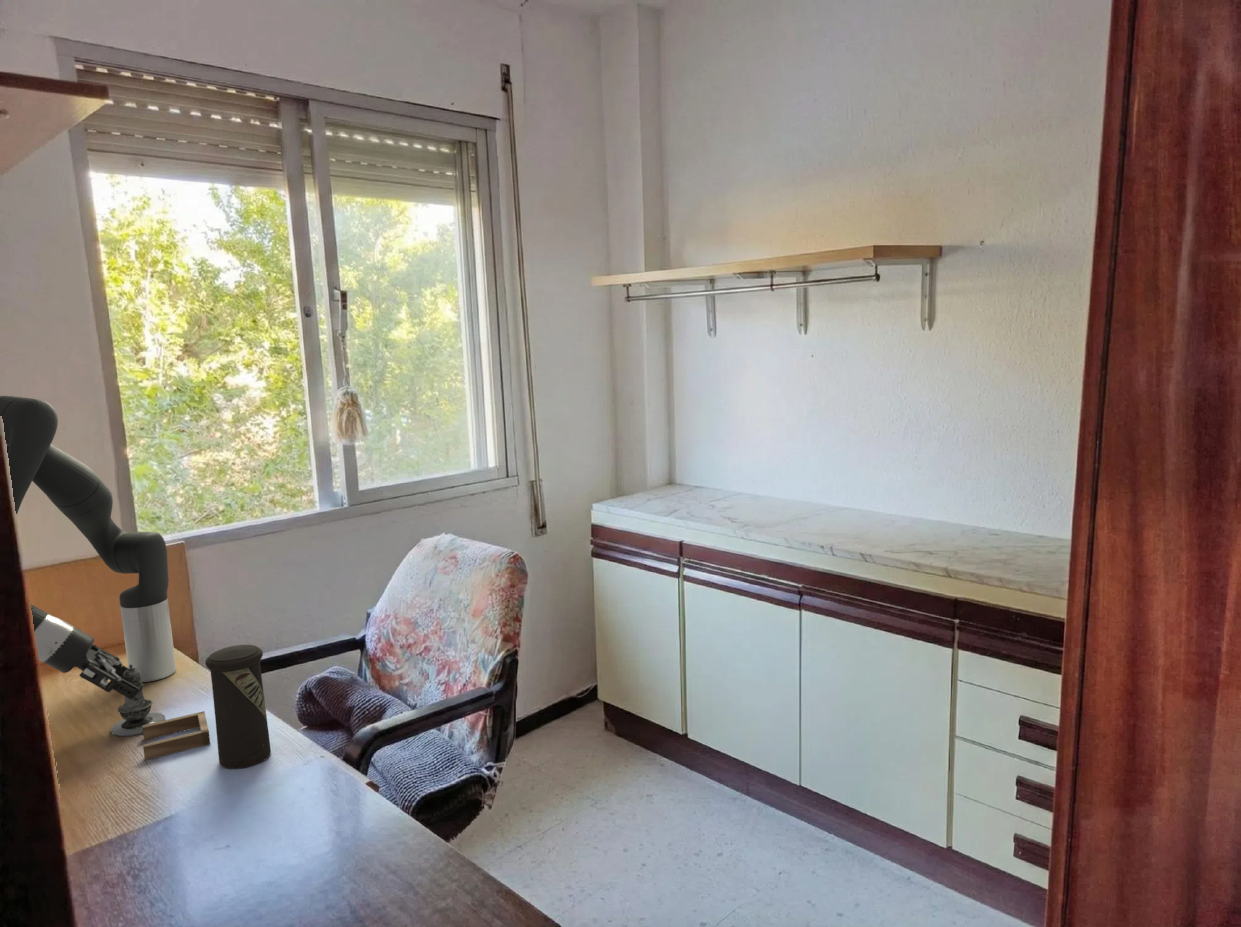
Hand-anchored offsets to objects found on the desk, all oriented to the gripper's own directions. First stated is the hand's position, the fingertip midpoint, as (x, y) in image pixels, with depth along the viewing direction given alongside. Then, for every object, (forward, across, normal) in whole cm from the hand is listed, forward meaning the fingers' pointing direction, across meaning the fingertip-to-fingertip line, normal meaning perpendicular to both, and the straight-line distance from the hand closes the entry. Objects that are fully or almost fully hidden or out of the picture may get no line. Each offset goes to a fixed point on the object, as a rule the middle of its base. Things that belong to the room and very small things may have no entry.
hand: (136, 686), depth 154 cm
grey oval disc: (+5, 0, +6) cm, 8 cm away
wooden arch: (+10, -12, +2) cm, 15 cm away
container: (+17, -27, -5) cm, 32 cm away
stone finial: (+5, 0, +6) cm, 8 cm away
